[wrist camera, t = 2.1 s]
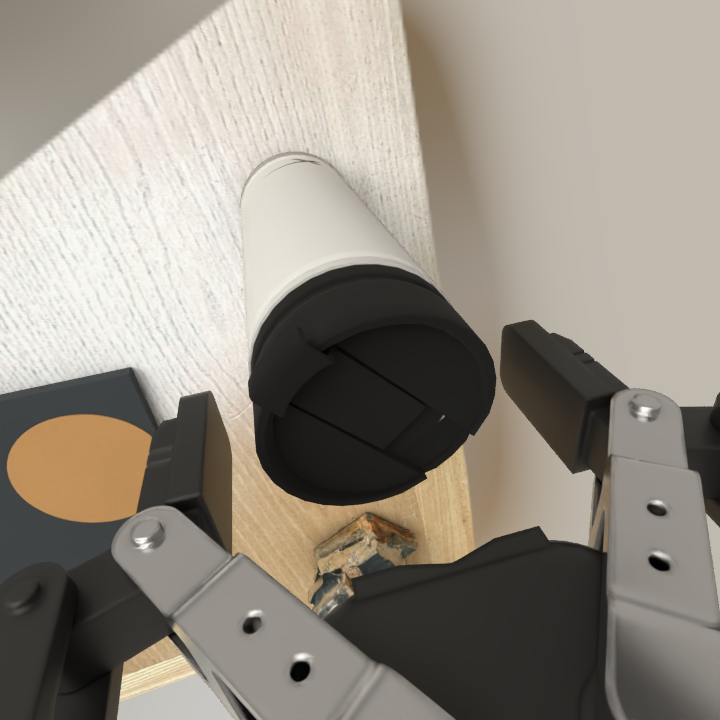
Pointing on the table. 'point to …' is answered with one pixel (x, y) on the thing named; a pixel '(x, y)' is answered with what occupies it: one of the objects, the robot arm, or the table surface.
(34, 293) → the table surface
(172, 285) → the table surface
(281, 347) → the travel mug
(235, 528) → the table surface
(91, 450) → the mat
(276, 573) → the table surface
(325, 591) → the rock
